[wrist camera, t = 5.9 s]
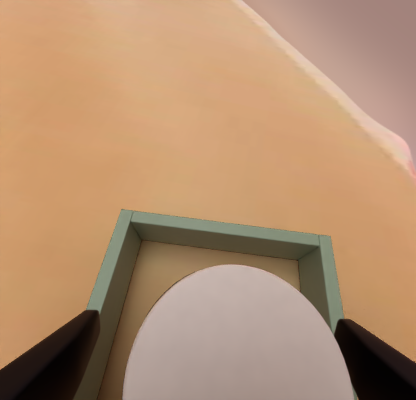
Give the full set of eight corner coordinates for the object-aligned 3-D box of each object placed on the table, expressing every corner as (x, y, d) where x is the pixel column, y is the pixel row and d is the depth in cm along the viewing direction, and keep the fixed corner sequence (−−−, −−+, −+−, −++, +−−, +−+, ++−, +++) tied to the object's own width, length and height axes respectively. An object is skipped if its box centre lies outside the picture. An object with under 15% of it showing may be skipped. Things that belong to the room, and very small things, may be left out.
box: (307, 251, 17) (330, 235, 14) (336, 532, 10) (394, 617, 7) (134, 229, 17) (121, 208, 14) (55, 489, 11) (-1, 553, 8)
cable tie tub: (250, 304, 15) (343, 269, 6) (248, 400, 13) (407, 629, 3) (178, 295, 15) (147, 243, 6) (162, 388, 13) (59, 573, 3)
